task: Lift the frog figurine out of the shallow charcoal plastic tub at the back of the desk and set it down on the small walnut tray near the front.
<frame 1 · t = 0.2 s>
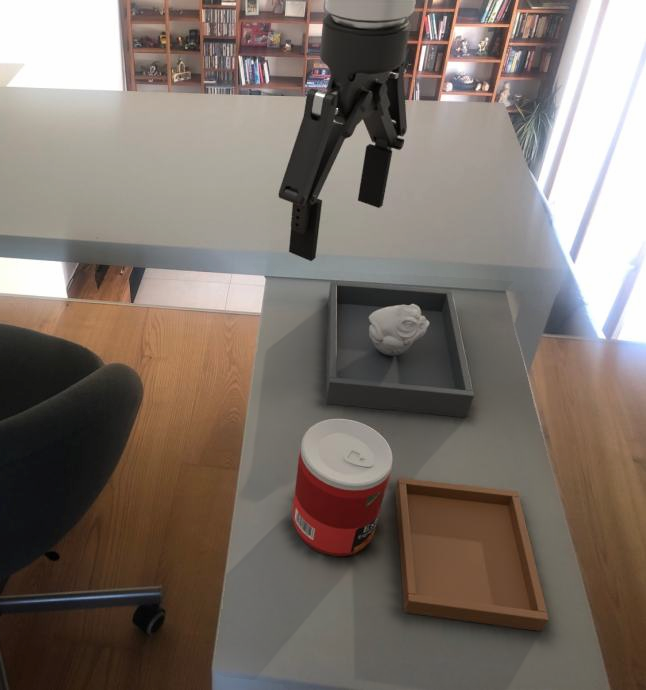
hand: (337, 228, 74), 19 cm above the table, tool pointing down, fingers open, 13 cm apart
tray: (461, 554, 65), on the table
canned food: (331, 525, 68), on the table
tub: (390, 354, 86), on the table
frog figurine: (390, 352, 86), resting in tub
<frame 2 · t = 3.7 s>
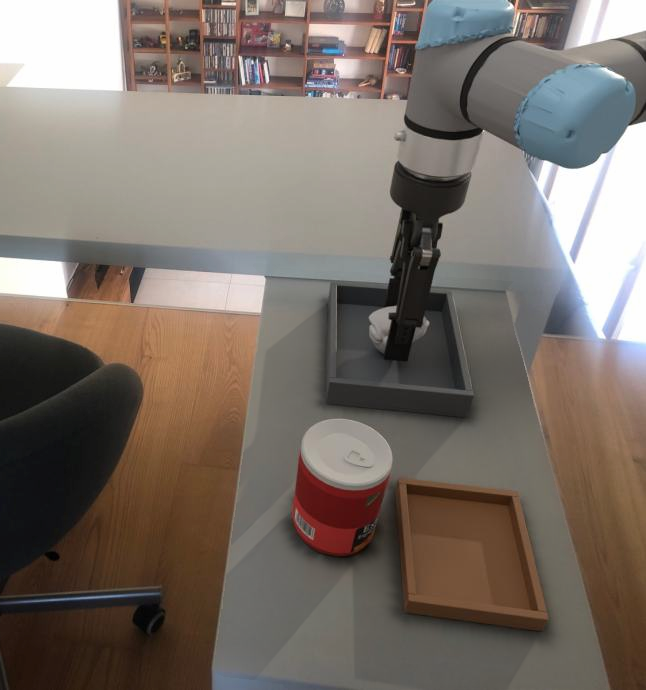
hand: (393, 339, 85), 2 cm above the table, tool pointing down, fingers closed on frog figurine, 6 cm apart
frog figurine: (390, 352, 86), resting in tub, touching gripper
everything else where it was.
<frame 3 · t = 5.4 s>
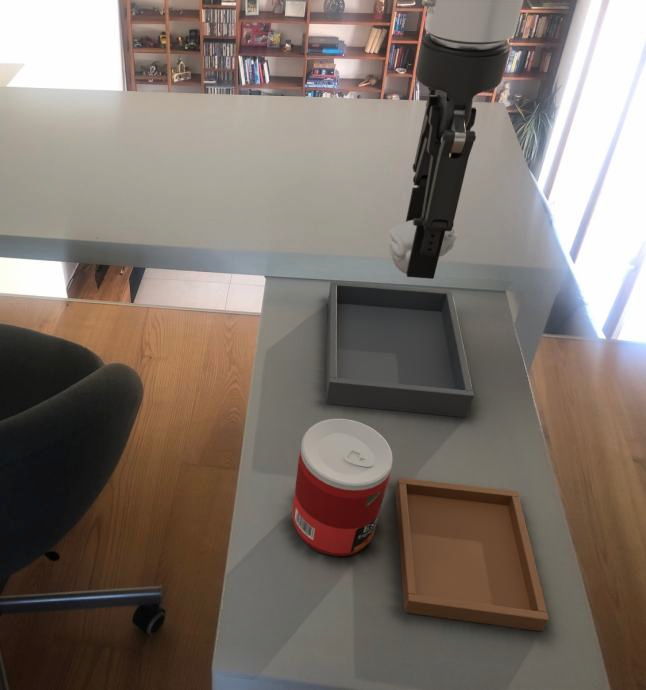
hand: (417, 258, 76), 15 cm above the table, tool pointing down, fingers closed on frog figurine, 6 cm apart
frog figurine: (413, 273, 77), point 13 cm above the table, touching gripper
everything else where it was.
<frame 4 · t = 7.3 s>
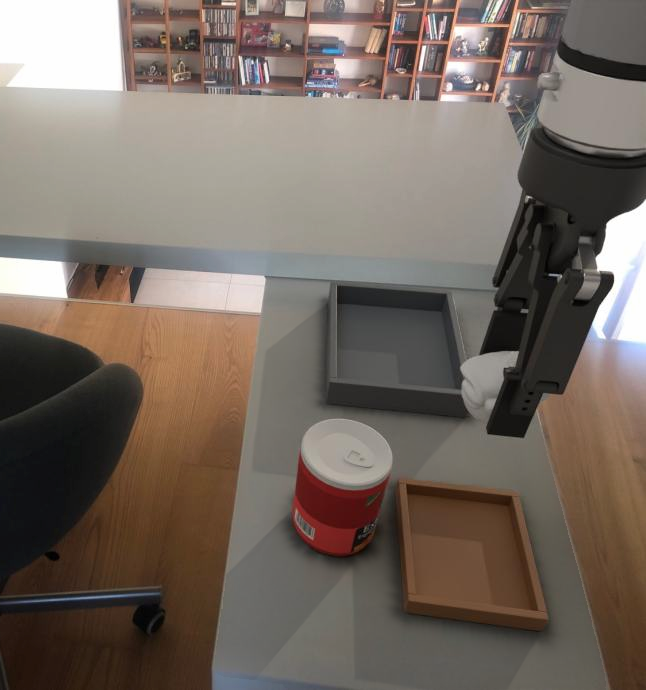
hand: (497, 401, 57), 17 cm above the table, tool pointing down, fingers closed on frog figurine, 6 cm apart
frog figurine: (490, 418, 58), point 15 cm above the table, touching gripper
everything else where it was.
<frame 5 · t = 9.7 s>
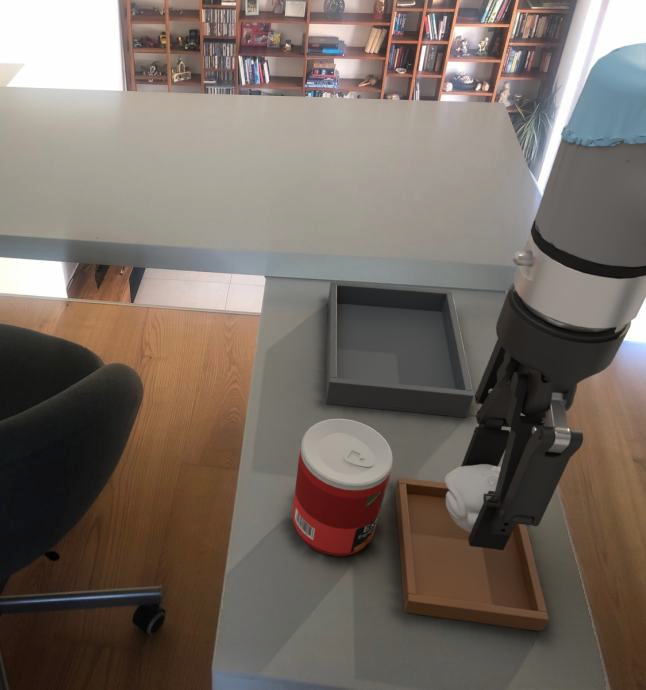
hand: (479, 510, 60), 7 cm above the table, tool pointing down, fingers closed on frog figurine, 6 cm apart
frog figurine: (473, 523, 62), point 5 cm above the table, touching gripper
everything else where it was.
when the fingers open (2 cm above the table, at t = 11.2 s): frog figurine stays where it is, resting on tray.
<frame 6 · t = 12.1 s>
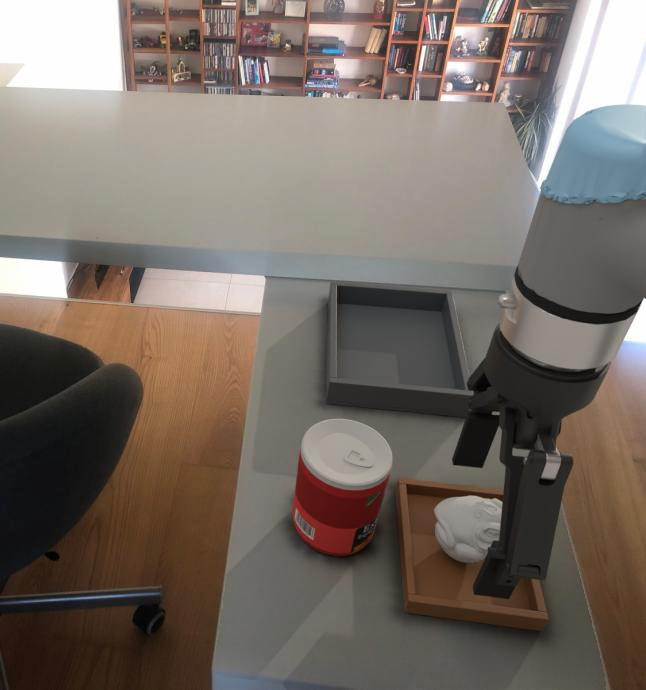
hand: (477, 523, 61), 5 cm above the table, tool pointing down, fingers open, 13 cm apart
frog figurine: (461, 552, 65), resting on tray
everything else where it was.
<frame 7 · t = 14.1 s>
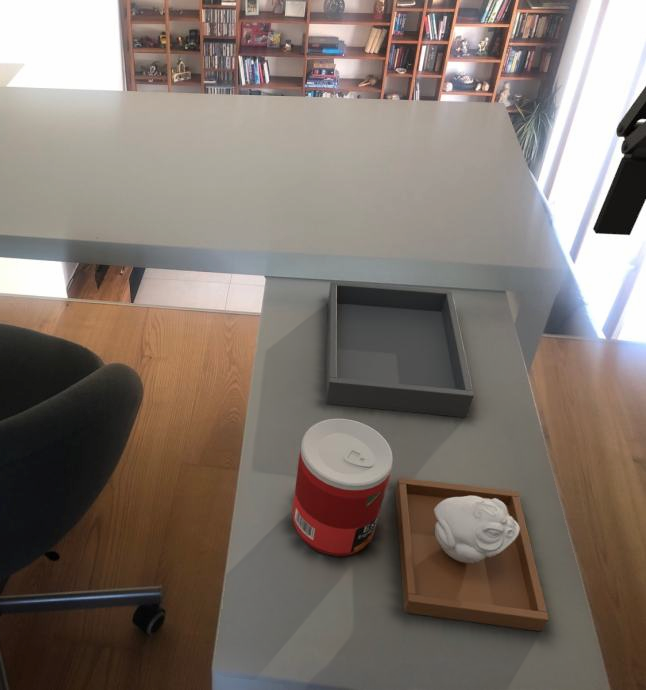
hand: (639, 278, 53), 26 cm above the table, tool pointing down, fingers open, 13 cm apart
nothing on the table moved.
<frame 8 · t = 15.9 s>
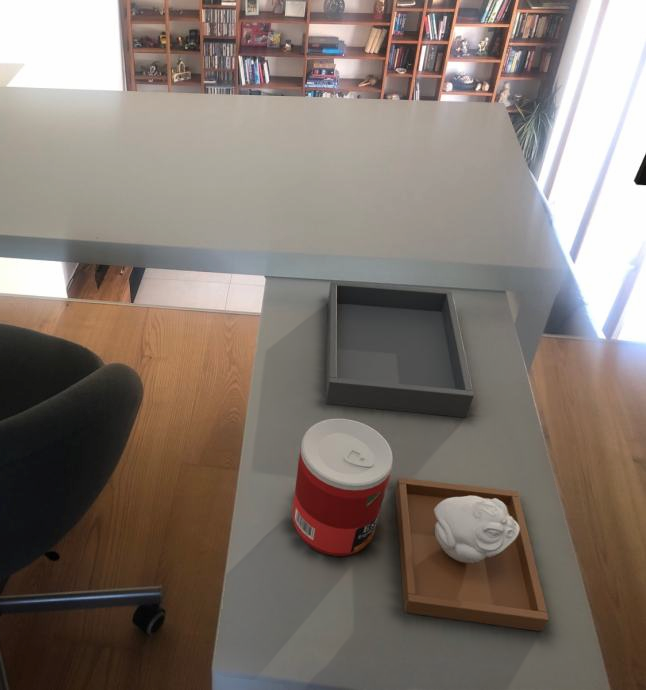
nothing on the table moved.
at the end: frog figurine inside the target area on the tray (0.1 cm from its centre), point 0.3 cm above the tray's base; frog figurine touching tray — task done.
